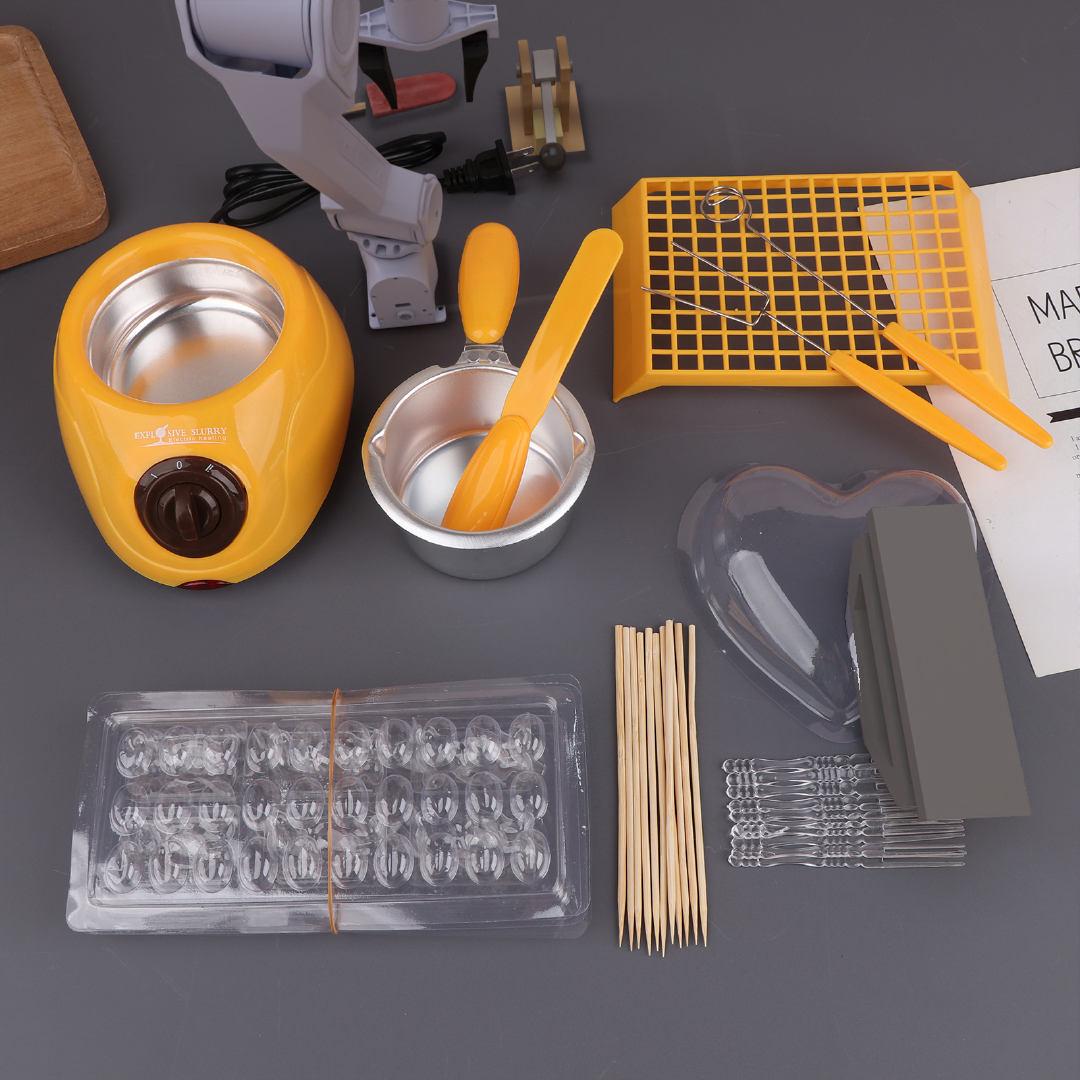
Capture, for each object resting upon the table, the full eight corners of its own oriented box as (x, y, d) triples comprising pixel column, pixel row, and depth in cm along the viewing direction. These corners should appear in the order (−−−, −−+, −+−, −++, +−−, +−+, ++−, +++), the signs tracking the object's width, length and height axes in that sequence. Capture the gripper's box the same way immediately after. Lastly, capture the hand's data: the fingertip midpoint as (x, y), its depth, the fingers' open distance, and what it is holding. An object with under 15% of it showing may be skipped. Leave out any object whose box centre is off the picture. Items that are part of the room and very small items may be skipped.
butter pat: (562, 152, 99) (563, 136, 96) (536, 154, 98) (535, 138, 96) (558, 123, 100) (559, 107, 98) (532, 126, 100) (531, 109, 98)
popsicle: (322, 92, 101) (450, 66, 102) (325, 104, 103) (452, 78, 104) (329, 123, 99) (459, 95, 101) (332, 134, 101) (461, 107, 102)
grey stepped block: (833, 548, 85) (871, 507, 74) (915, 544, 85) (965, 503, 74) (876, 823, 77) (927, 820, 66) (967, 818, 77) (1031, 815, 66)
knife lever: (567, 174, 97) (568, 166, 94) (539, 177, 97) (540, 169, 94) (556, 58, 95) (557, 46, 92) (528, 61, 95) (528, 49, 92)
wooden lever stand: (584, 158, 100) (588, 88, 90) (514, 164, 100) (510, 95, 90) (574, 88, 103) (576, 14, 94) (505, 95, 103) (501, 21, 94)
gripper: (489, -65, 79) (498, 61, 92) (327, -51, 79) (359, 74, 92) (497, -7, 77) (505, 115, 90) (330, 9, 77) (361, 128, 90)
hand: (431, 98), depth 91 cm, fingers open, 7 cm apart
